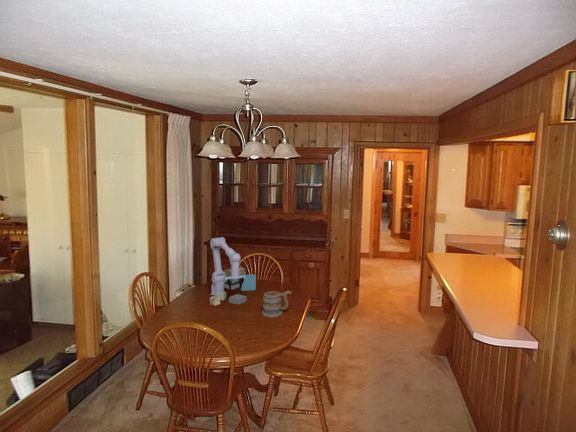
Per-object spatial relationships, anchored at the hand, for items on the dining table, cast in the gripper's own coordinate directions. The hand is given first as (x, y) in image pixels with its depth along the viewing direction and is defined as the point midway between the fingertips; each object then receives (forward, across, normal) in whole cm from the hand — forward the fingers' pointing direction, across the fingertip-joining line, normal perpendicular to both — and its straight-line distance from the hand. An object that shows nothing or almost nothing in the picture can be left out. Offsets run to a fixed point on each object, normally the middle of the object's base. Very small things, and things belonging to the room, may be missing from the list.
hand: (235, 289), depth 297 cm
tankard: (+10, +20, -32) cm, 39 cm away
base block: (+10, +2, +1) cm, 11 cm away
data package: (+10, +18, +25) cm, 32 cm away
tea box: (+11, +11, +37) cm, 40 cm away
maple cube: (+10, -14, +3) cm, 18 cm away
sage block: (+10, -7, +12) cm, 17 cm away
